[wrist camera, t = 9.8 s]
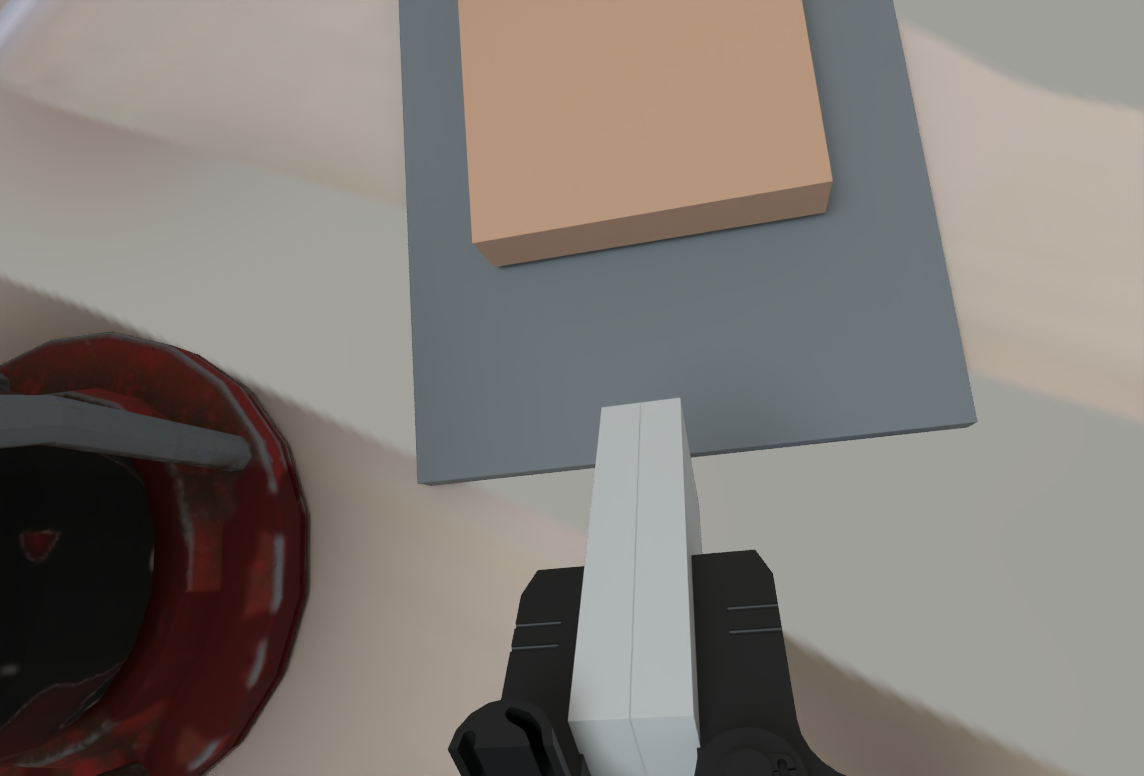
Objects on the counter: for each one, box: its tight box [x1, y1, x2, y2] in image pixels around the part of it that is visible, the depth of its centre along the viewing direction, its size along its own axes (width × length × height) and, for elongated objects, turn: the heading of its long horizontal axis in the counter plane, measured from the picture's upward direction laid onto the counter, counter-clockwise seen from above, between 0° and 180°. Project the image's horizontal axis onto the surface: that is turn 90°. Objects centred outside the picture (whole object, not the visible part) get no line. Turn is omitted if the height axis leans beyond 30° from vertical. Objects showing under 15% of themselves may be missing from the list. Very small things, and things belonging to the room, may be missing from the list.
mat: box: [399, 0, 977, 486], centre depth 25 cm, size 20×16×1 cm
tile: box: [458, 0, 833, 267], centre depth 24 cm, size 2×10×12 cm
